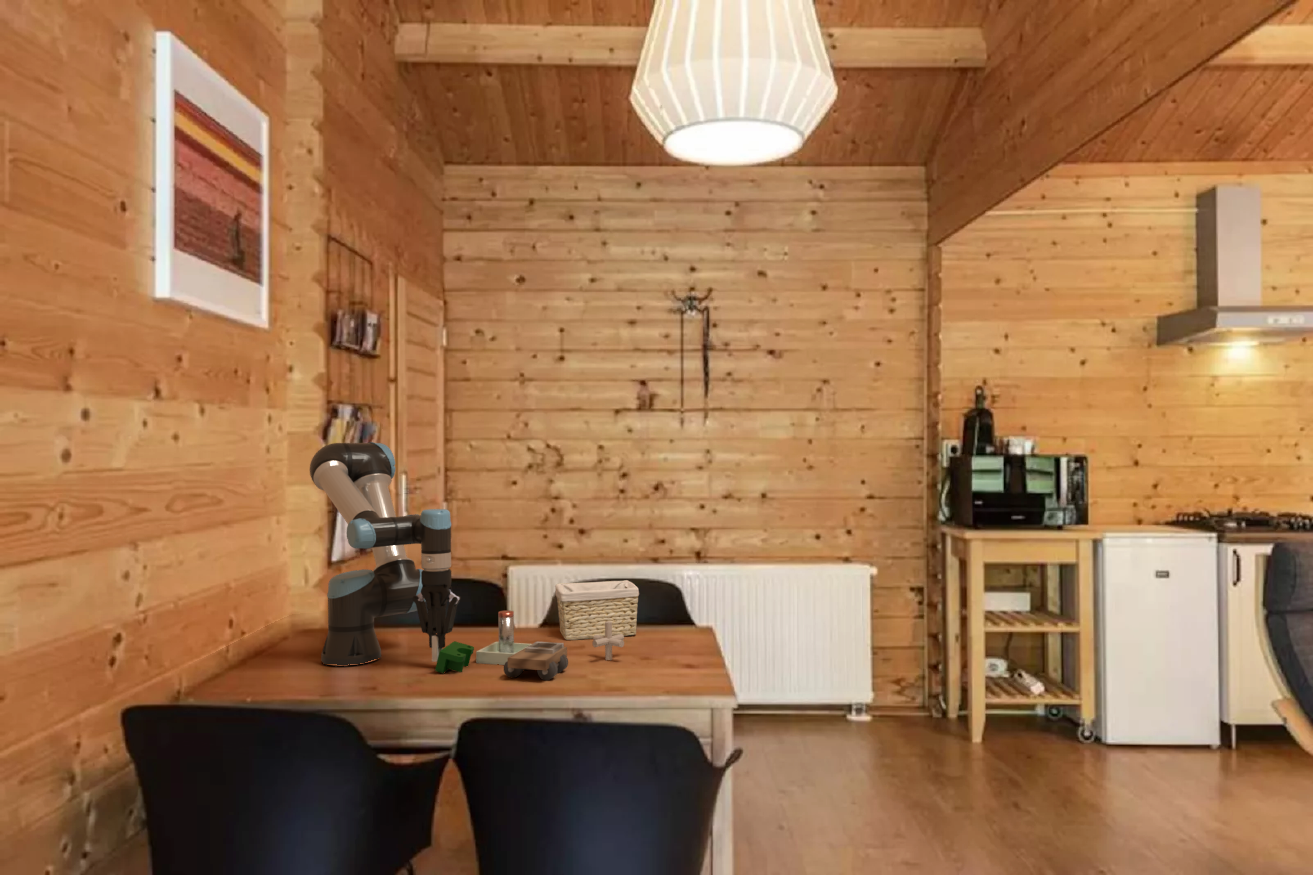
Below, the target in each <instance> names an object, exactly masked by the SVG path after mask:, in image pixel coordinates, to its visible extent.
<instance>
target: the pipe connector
mask: <svg viewBox="0 0 1313 875" xmlns="http://www.w3.org/2000/svg"><path fill="white" fill-rule="evenodd" d="M592 640H593V641H592V646H593V648H598V647H602V646H605V647H604V649H605V650H604V653H605V656H604V658H605V661H607V660H610V661H612V660H613V646H614V647H619V648H623V647H624V646H625V641H624V640H625V636H623V634H619V635H615V636H612V622H610V621H607V622H605V637H604V636H600V635H595V636H594V638H593V639H592Z"/></svg>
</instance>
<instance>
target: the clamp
mask: <svg viewBox="0 0 1313 875" xmlns="http://www.w3.org/2000/svg"><path fill="white" fill-rule="evenodd" d="M474 651H475V646H473V645H469V644H466V643H464V642H463V643H462V642H459V641H454V640H453V641H452V642H451V643H449V644H448V645H447V646H446V645H445V647H444V648H442V650H441V651H440V652H439V656H438V660H437V662H436V665H435V669H434V672H436V673H439V674H443V673H444V672H445V671H446V672H448V671H449V670H451V671H455V672H458V673H463V669H464V667H466V666H468V667H469V665H470V662H471V661H470V659H471V656H472V654H474ZM448 669H449V670H448ZM447 670H448V671H447ZM446 672H445V673H446ZM445 673H444V674H445Z"/></svg>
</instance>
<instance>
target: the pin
mask: <svg viewBox="0 0 1313 875" xmlns="http://www.w3.org/2000/svg"><path fill="white" fill-rule="evenodd" d="M514 615H515V614H514V610H500V611H498V642H499V652H502V653H514V643H515V637H514V636H515V631H514V630H515V628H514V627H515V622H514V621H515V620H514V617H515V616H514Z"/></svg>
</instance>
